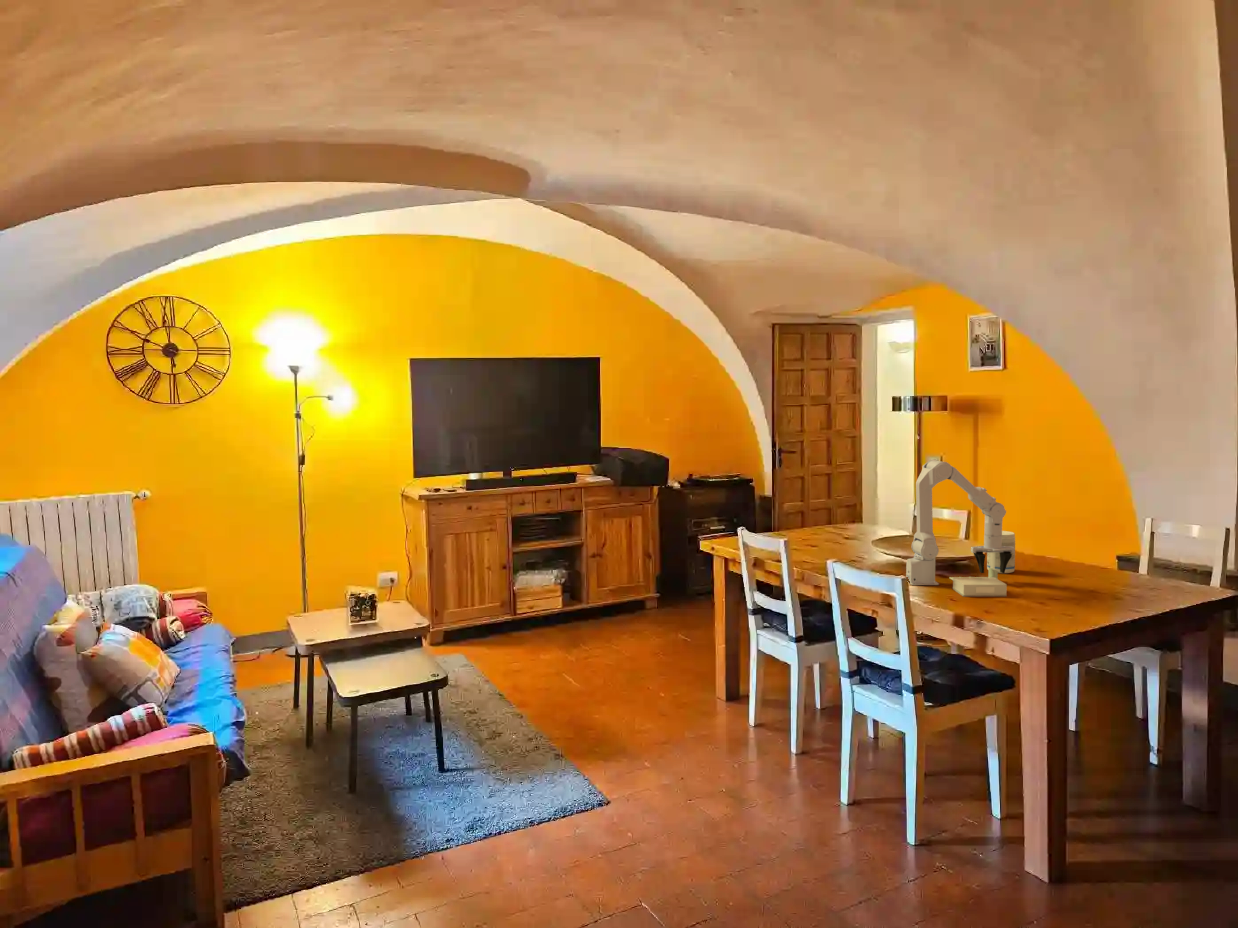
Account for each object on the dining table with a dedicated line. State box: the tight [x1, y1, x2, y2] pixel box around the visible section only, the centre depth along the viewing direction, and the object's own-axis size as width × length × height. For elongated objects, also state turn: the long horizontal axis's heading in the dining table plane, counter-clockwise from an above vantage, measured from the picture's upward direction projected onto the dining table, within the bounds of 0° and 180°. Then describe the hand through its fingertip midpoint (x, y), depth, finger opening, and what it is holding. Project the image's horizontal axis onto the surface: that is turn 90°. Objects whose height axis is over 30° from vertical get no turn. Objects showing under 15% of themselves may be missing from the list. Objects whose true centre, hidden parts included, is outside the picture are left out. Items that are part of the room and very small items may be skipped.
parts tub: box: [952, 576, 1008, 597], centre depth 280 cm, size 14×10×4 cm
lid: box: [949, 568, 999, 581], centre depth 296 cm, size 14×10×5 cm
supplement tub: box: [986, 530, 1016, 574], centre depth 310 cm, size 10×10×15 cm
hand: (992, 572), depth 295 cm, fingers open, 7 cm apart
